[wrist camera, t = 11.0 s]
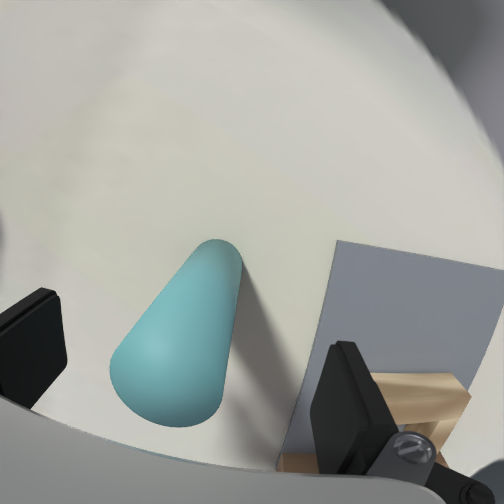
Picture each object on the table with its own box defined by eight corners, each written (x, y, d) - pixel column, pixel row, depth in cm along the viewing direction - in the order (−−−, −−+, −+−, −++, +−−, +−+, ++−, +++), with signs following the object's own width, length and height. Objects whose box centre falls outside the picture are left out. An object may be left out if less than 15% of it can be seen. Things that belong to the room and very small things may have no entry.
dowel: (238, 292, 23) (217, 435, 9) (188, 285, 23) (114, 413, 9) (245, 243, 22) (229, 345, 9) (193, 235, 22) (106, 323, 9)
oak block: (410, 448, 26) (423, 473, 22) (324, 453, 26) (330, 483, 22) (451, 372, 24) (471, 396, 20) (356, 372, 24) (370, 402, 20)
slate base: (423, 459, 28) (425, 462, 27) (275, 466, 28) (276, 470, 27) (509, 271, 23) (512, 273, 22) (337, 240, 22) (338, 241, 22)
